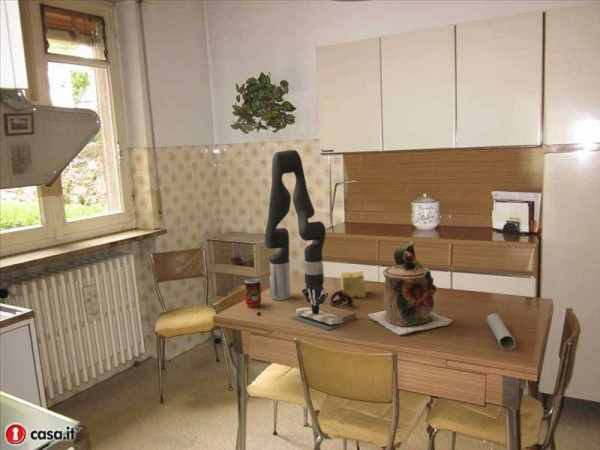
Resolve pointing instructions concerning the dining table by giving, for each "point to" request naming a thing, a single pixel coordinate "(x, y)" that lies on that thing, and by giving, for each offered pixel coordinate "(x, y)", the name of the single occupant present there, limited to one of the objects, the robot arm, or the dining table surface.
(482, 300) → the dining table surface
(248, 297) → the soda can
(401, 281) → the cookie jar
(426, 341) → the dining table surface
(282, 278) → the robot arm
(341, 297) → the pottery mug
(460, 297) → the dining table surface
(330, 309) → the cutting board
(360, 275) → the cheese
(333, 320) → the plank
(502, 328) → the tube
